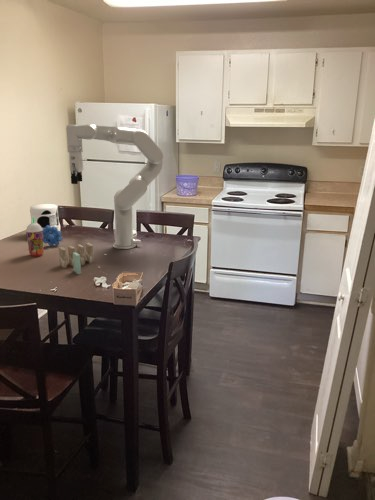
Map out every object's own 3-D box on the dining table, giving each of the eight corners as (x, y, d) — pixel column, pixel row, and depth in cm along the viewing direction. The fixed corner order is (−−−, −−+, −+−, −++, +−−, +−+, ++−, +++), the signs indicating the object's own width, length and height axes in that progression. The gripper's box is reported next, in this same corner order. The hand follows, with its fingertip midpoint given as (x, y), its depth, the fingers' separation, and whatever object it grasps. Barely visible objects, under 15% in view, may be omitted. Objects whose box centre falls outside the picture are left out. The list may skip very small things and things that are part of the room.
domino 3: (77, 270, 204) (76, 252, 201) (81, 273, 200) (80, 255, 197) (74, 271, 203) (72, 252, 200) (77, 274, 199) (76, 255, 196)
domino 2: (72, 263, 214) (71, 245, 212) (75, 265, 210) (74, 248, 208) (69, 263, 214) (67, 245, 211) (72, 266, 210) (71, 248, 207)
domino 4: (81, 261, 217) (80, 244, 214) (84, 264, 213) (83, 246, 210) (77, 262, 216) (76, 244, 213) (81, 264, 212) (80, 247, 209)
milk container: (34, 232, 271) (32, 203, 265) (63, 231, 273) (61, 203, 267) (27, 239, 254) (25, 209, 249) (58, 239, 256) (56, 209, 251)
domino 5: (89, 260, 219) (88, 242, 217) (93, 262, 215) (92, 245, 213) (86, 260, 218) (85, 243, 216) (90, 263, 214) (89, 245, 212)
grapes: (40, 249, 236) (38, 227, 233) (40, 245, 243) (39, 224, 239) (62, 247, 240) (61, 226, 236) (62, 244, 246) (61, 223, 242)
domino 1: (63, 264, 212) (61, 246, 209) (66, 267, 208) (65, 249, 205) (60, 265, 211) (58, 247, 209) (63, 267, 207) (62, 249, 205)
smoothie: (35, 258, 220) (31, 220, 214) (24, 255, 224) (20, 218, 218) (48, 254, 227) (45, 217, 221) (37, 252, 231) (34, 215, 225)
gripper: (78, 150, 216) (80, 185, 221) (86, 148, 233) (87, 180, 238) (63, 150, 216) (65, 184, 221) (72, 148, 233) (74, 180, 238)
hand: (76, 182), depth 229 cm, fingers open, 9 cm apart
